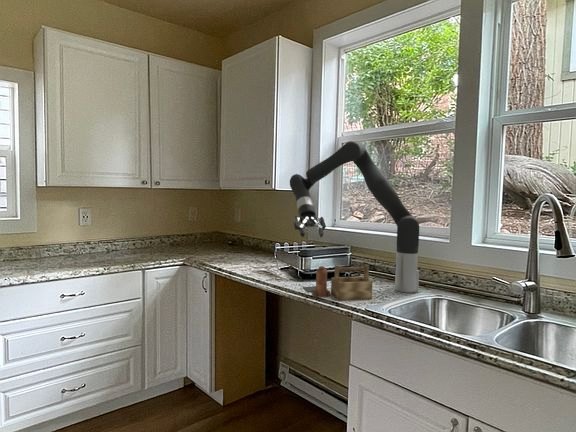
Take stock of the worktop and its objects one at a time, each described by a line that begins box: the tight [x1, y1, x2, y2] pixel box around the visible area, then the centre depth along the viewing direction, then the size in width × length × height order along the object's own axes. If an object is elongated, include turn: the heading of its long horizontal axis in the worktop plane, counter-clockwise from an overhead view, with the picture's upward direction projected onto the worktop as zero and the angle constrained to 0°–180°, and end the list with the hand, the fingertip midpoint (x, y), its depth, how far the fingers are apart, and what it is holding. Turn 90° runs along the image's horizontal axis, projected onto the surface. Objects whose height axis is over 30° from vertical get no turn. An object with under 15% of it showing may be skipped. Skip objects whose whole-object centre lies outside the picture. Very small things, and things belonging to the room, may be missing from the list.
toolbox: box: [330, 264, 373, 301], centre depth 164 cm, size 14×10×13 cm
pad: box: [302, 285, 316, 293], centre depth 175 cm, size 8×8×1 cm
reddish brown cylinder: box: [315, 265, 328, 298], centre depth 165 cm, size 4×4×12 cm
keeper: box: [311, 288, 331, 298], centre depth 165 cm, size 7×4×2 cm, turn 103°
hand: (312, 236), depth 177 cm, fingers open, 8 cm apart
